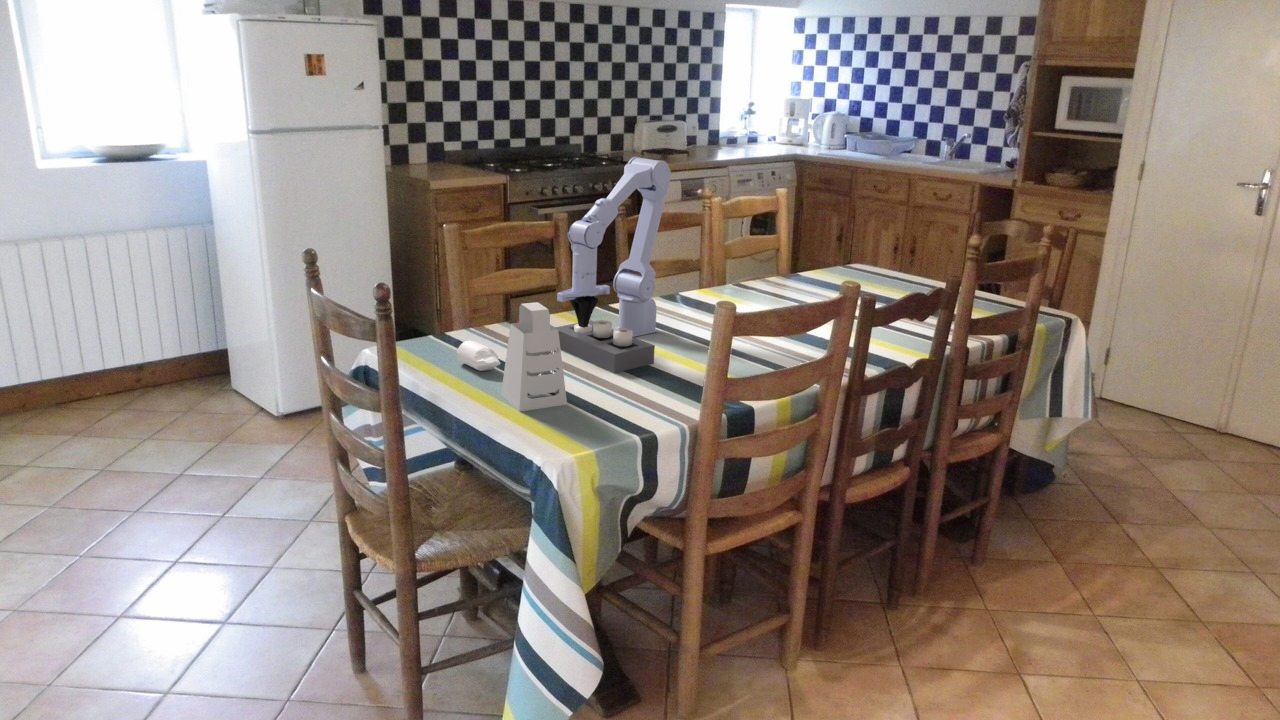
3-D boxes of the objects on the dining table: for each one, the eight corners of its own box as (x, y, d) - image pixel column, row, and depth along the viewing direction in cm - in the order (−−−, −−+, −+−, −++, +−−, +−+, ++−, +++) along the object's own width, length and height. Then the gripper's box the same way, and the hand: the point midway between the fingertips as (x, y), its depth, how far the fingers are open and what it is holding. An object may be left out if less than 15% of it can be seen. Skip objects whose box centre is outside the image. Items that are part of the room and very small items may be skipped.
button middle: (603, 331, 226) (604, 319, 225) (615, 336, 223) (615, 323, 222) (589, 334, 223) (589, 322, 222) (600, 339, 220) (601, 326, 219)
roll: (484, 380, 205) (484, 355, 203) (456, 365, 214) (456, 341, 212) (508, 375, 209) (508, 351, 207) (479, 360, 217) (479, 337, 215)
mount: (590, 337, 237) (591, 320, 236) (653, 363, 220) (654, 345, 219) (551, 345, 230) (552, 327, 228) (614, 373, 212) (614, 354, 211)
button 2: (623, 339, 221) (624, 327, 220) (635, 344, 218) (636, 331, 217) (609, 342, 218) (609, 330, 217) (621, 347, 215) (621, 335, 214)
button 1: (584, 334, 232) (584, 322, 231) (595, 338, 229) (595, 326, 228) (570, 337, 230) (570, 325, 229) (581, 341, 226) (581, 329, 225)
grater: (547, 387, 202) (548, 297, 196) (567, 404, 193) (569, 310, 187) (501, 394, 197) (500, 302, 191) (519, 411, 189) (519, 315, 182)
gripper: (570, 278, 217) (569, 335, 221) (618, 271, 226) (616, 325, 230) (552, 272, 222) (551, 327, 226) (600, 265, 231) (598, 318, 235)
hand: (583, 326), depth 228 cm, fingers closed
